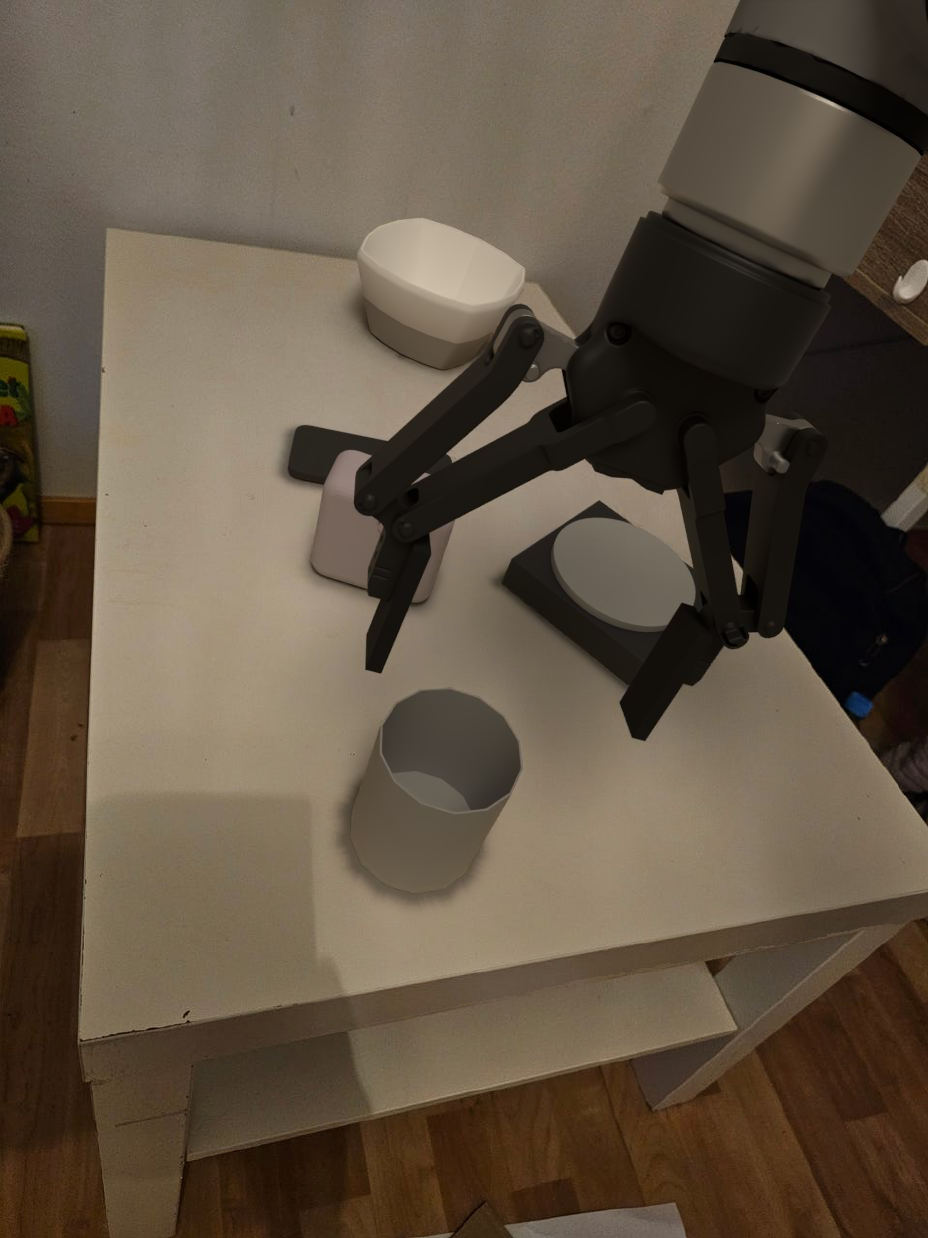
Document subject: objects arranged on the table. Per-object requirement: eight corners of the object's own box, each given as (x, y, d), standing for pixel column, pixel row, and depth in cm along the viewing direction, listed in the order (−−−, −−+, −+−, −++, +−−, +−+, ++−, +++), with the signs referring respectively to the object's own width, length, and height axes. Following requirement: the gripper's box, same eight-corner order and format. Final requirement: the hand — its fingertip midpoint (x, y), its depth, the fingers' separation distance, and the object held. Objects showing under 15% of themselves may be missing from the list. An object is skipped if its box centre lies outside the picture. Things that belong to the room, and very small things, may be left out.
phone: (296, 421, 78) (452, 453, 81) (296, 429, 79) (450, 459, 82) (286, 470, 73) (452, 502, 76) (285, 477, 74) (450, 508, 77)
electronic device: (304, 577, 66) (321, 480, 59) (320, 540, 70) (338, 444, 63) (424, 615, 67) (454, 523, 60) (435, 576, 70) (465, 485, 63)
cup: (478, 898, 52) (528, 821, 45) (347, 889, 50) (378, 807, 43) (472, 780, 58) (515, 695, 51) (354, 768, 56) (382, 678, 49)
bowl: (319, 328, 92) (331, 245, 85) (399, 281, 104) (415, 205, 97) (457, 401, 89) (481, 322, 82) (523, 344, 101) (548, 270, 95)
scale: (723, 623, 76) (745, 593, 73) (648, 701, 67) (670, 670, 64) (587, 522, 81) (603, 491, 78) (501, 582, 72) (515, 549, 69)
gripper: (955, 338, 36) (704, 700, 47) (408, 87, 29) (261, 577, 40) (1073, 398, 30) (752, 799, 40) (414, 98, 23) (238, 674, 34)
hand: (508, 690), depth 40 cm, fingers open, 13 cm apart
